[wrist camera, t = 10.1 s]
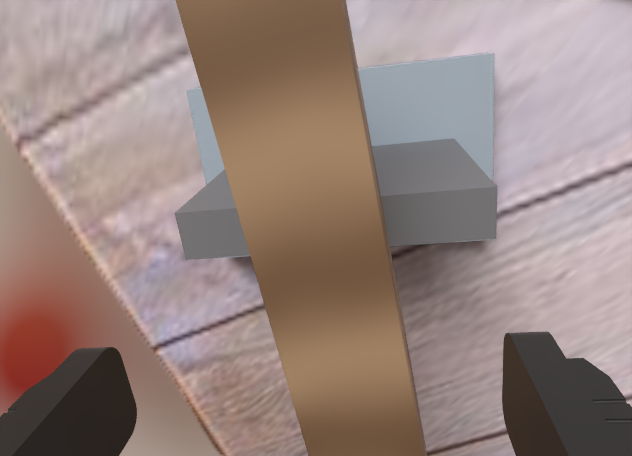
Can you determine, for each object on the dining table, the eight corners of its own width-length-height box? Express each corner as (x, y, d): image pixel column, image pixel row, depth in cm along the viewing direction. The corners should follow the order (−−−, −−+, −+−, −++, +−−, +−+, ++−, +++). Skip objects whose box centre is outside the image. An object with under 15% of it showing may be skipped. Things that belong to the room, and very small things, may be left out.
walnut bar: (184, -131, 14) (119, -192, 10) (314, -172, 13) (294, -253, 10) (342, 467, 22) (336, 552, 18) (428, 460, 22) (440, 547, 18)
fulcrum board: (485, 230, 28) (547, 329, 18) (228, 248, 30) (162, 345, 21) (487, 52, 25) (564, 59, 15) (195, 87, 27) (98, 114, 17)
